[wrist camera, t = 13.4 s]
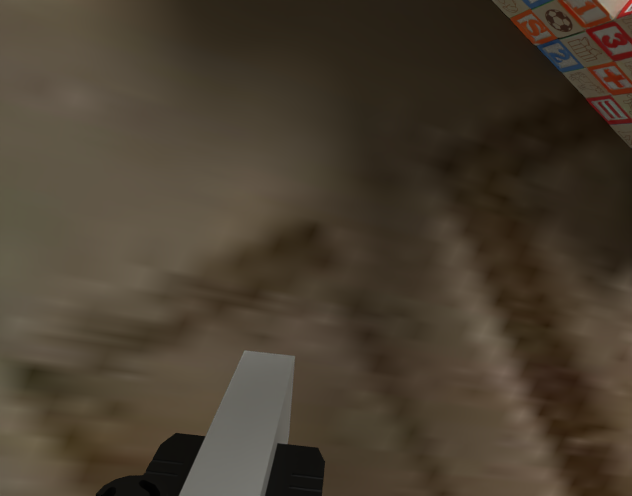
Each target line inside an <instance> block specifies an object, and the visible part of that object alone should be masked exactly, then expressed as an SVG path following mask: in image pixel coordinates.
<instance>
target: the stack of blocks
mask: <svg viewBox="0 0 632 496" xmlns="http://www.w3.org/2000/svg"><path fill="white" fill-rule="evenodd" d="M492 1H493V2H494V3H495V4H496V5H497V6H498V7H499V8H500V9H501V10H502V12H503V13H504V14H505V15H506V16H508V17H509V18H510V19H511V21H512V22H513V23H514V24H515V25H516V26H517V28H518V29H519V30H520V31H521V32H522V33H523V34H524V35H525V36H526V37H527V38H528V39H529V40H530V41H531V43H532V44H533V45H536V46H537V47H538V49H539V50H540V51H541V52H542V53H543V54H544V55H545V56H546V57H547V58H548V59H549V60H550V61H551V62H552V63H553V64H554V66H555V67H556V68H557V69H558V70H559V71H561V72H562V73H563V75H564V76H565V77H566V78H567V79H568V80H569V81H570V82H571V83H572V84H573V85H574V86H575V87H576V88H577V89H578V91H579V92H580V93H581V94H582V95H583V96H584V97H585V98H586V100H587V101H588V102H589V104H590V105H591V106H592V107H593V108H594V109H595V110H596V111H597V112H598V113H599V114H600V115H601V116H602V117H603V119H604V120H605V121H606V122H607V123H608V124H609V125H610V126H611V127H612V129H613V130H614V131H615V132H616V133H617V134H618V135H619V136H620V137H621V138H622V139H623V140H624V141H625V142H626V144H627V145H628V146H629V147H630V148H632V0H492Z"/></svg>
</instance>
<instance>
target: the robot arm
mask: <svg viewBox="0 0 632 496" xmlns="http://www.w3.org/2000/svg"><path fill="white" fill-rule="evenodd" d="M294 363H295V356H291V355H281V354H272V353H263V352H253V351H244V353H243V355H242V357H241V359H240V362H239V364H238V366H237V368H236V370H235V373H234V375H233V377H232V379H231V382H230V384H229V386H228V388H227V390H226V393H225V395H224V397H223V399H222V401H221V404H220V406H219V408H218V410H217V413H216V415H215V417H214V419H213V421H212V424H211V426H210V428H209V430H208V432H207V435H206V436H198V435H189V434H180V433H175V434H174V435H173V436H171V437H170V438H169V439H167V440H166V441H165V442H163V443H162V444H161V445H160V447H159V448H158V450H157V452H156V454H155V455H154V457H153V460H152V461H151V462H150V464H149V466H148V468H147V469H146V473H144V475H140V476H126V477H123V478H119V479H115V480H114V481H112V482H110V483H108V484H106V485H104V486H103V487H102V488H101V489H100V490H99V491H98V492H97V493H96V496H322V487H323V477H324V467H325V461H324V459H323V457H322V455H321V453H320V451H319V449H318V448H315V447H306V446H298V445H289V444H288V439H289V428H290V415H291V402H292V389H293V376H294Z"/></svg>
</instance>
